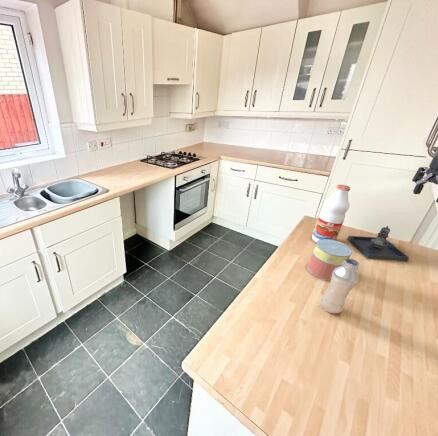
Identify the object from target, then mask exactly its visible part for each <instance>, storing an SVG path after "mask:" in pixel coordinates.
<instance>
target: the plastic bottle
mask: <svg viewBox="0 0 438 436" xmlns="http://www.w3.org/2000/svg"><path fill="white" fill-rule="evenodd" d="M359 266H360V263H359V261H357V260H356V259H353V258H347V259H345V260H344V262H343V263H342V266H339V267H337V268H336V269H334V271H333V273H332V277H331V281H330V282H329V283H328V287H327V289H326V290H325V292H324V293H323V294H322V295H321V297H320V299H319V305H320V307H321V308H322V309H323V310H324V311H325V312H327V313H330V314H332V315H333V314H335V315H336V314H339V313H341V312H343V310H344V308H345V305H346V300H347V299H348V295H349V294H350V293H351V290H352V289H353V288H355V286H356V284H357V283H358V282H359V275H358V272H357V271H358V269H359Z"/></svg>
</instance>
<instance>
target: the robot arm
mask: <svg viewBox="0 0 438 436" xmlns="http://www.w3.org/2000/svg"><path fill="white" fill-rule="evenodd" d="M435 151H436V152H435V153H434V155H433V157H432V159H431V161H430V163H429V165H428V166H421V167H420V166H419V167H418V169H417V171H416V172H415V174H414V176H413V178H412V179H411V181H412V182H414V183H415V186H414V189H413V190H412V191H413V194H414V195H420V194H421V192H422V191H423V189H424V187H425V185H426V184H427V183H431V184H434V185H438V148H437V149H436V150H435ZM435 203H437V204H438V197H437V198H436V200H435Z"/></svg>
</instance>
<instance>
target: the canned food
mask: <svg viewBox="0 0 438 436" xmlns="http://www.w3.org/2000/svg"><path fill="white" fill-rule="evenodd" d="M352 254H353V250H352V249H351V248H350V246H348V245H346V244H345V243H343V242H341V241H338V240H330V239H321V240H318V241H317V242H315V246H314V249H313V252H312V254H311V257H310V259H309V262H308V264H307V270H308V272H310V273H311V274H312V275H313V276H315V277H317V278H319V279H321V280H325V281H331V277H332V273H333V271H334V269H336V268H337V267H339V266H342V263H343V262H344V260H345V259H347V258H349V259H351V256H352Z"/></svg>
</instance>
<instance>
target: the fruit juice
mask: <svg viewBox="0 0 438 436" xmlns="http://www.w3.org/2000/svg"><path fill="white" fill-rule="evenodd" d="M350 191H351V186H349V185H347V184H337V185H335V190H334V192H332V194H331V195H330V196H329V197H328V198H327V199H325V201H324V202H323V208H322V209H321V211H320V213H319V214H318V217H317V221H316V223H315V226H314V229H313V230H312V231H313V232H312V234H311V239H312V240H313V241H314V242H315V243H317V241H318V240H321V239H330V240H335V241H337V238H338V236H339V233H340V231H341V228H342V226H343V224H344V222H345V218H346V213H347V212H348V210H350V209H349V208H350V202H349V192H350Z"/></svg>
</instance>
